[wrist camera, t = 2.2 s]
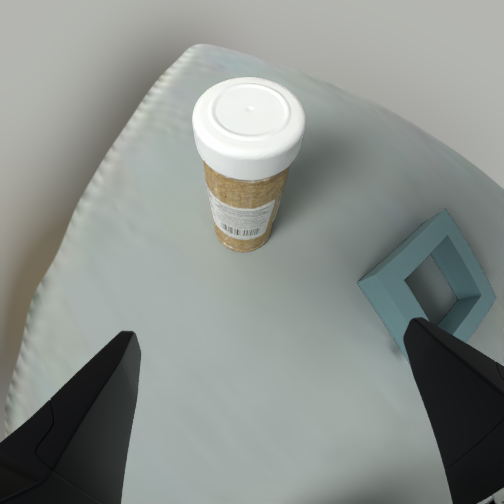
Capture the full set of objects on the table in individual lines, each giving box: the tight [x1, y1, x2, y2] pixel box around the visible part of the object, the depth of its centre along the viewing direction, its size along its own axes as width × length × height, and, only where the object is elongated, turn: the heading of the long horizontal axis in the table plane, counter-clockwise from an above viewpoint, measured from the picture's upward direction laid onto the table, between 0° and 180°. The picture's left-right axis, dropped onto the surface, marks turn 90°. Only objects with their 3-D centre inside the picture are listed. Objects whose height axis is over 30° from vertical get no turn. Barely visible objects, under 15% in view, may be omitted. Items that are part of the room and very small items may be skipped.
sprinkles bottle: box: [192, 77, 306, 252], centre depth 17 cm, size 5×5×14 cm
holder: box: [357, 208, 496, 364], centre depth 21 cm, size 10×10×4 cm
